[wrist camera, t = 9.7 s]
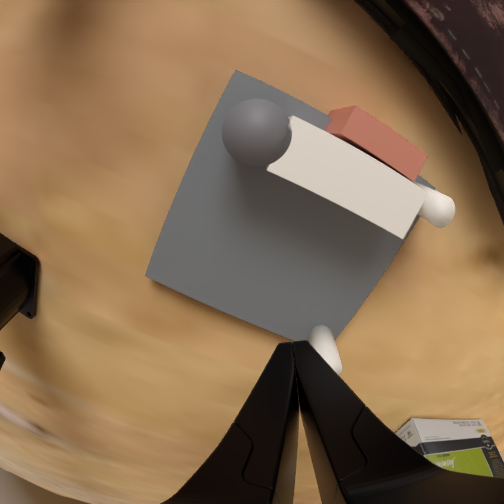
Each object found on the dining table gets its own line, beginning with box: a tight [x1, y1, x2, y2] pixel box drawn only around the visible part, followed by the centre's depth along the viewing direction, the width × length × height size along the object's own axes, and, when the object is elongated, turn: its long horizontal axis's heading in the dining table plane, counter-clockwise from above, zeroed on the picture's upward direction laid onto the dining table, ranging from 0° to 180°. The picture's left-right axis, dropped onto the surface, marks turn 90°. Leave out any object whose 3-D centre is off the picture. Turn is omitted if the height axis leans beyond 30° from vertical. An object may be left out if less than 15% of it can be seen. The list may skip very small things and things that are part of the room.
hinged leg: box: [222, 99, 428, 239], centre depth 14 cm, size 9×3×4 cm, turn 66°
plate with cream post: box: [145, 70, 455, 375], centre depth 16 cm, size 14×13×5 cm
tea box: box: [395, 418, 504, 478], centre depth 21 cm, size 15×10×15 cm, turn 70°
